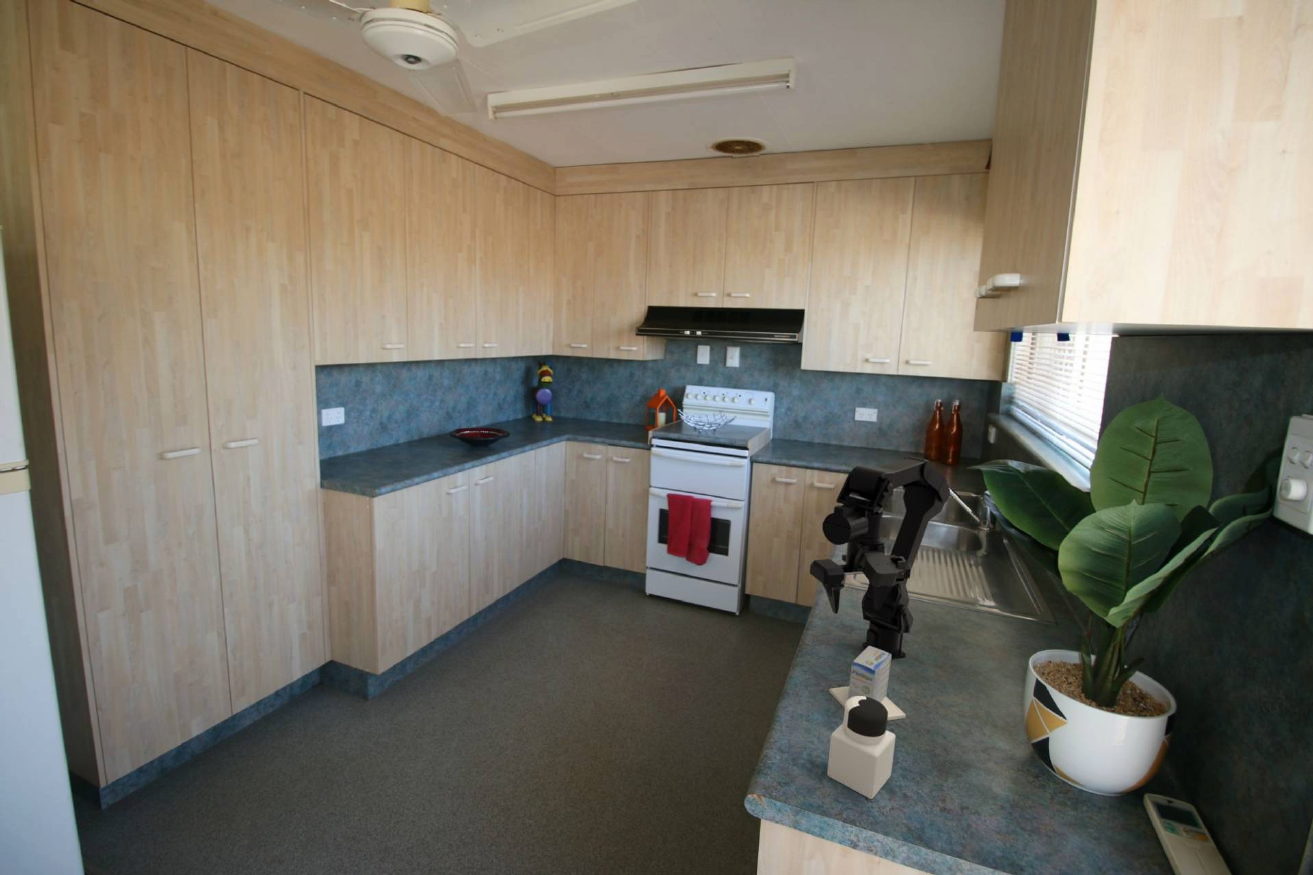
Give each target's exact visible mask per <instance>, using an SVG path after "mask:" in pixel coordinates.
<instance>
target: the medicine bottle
mask: <svg viewBox="0 0 1313 875" xmlns="http://www.w3.org/2000/svg"><path fill="white" fill-rule="evenodd" d="M887 719H888V711H887V709H886V708H885V706H884V705H883V704H882V703H880V702H879V701H877V700H875V699H873V698H870V697H865V696H855V697H851V698H850V699H848V700H847V701H846V703H845V708H844V714H843V722H842V723H841V724H840V725H839V726H838V727H837V728H836V729H835V730H834V731H833V732H832V733H831V734H830V743H829V752H828V764H827V773H826V774H827V776H828V777H829V778H830V779H833V780H834V781H835V782H838V783H839V784H842V785H844V786H845V787H847V788H849V789H851V790H853V791H855V792H857V793H858V794H861V795H862V796H864V797H866V798H867V799H870V800H872V799H874V798H875V796H876V795H877V793H878V792H879V791H880V790H881V789H882V788H883V786H884V784H886V782H887V781H888V780H889V779H890V777H891V776H892V769H893V768H892V767H893V762H894V761H893V760H894V753H895V745H896V734H895V733H893V732H891V731H889V730H887V724H888V721H887Z"/></svg>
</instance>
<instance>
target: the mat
mask: <svg viewBox="0 0 1313 875" xmlns="http://www.w3.org/2000/svg"><path fill="white" fill-rule="evenodd" d="M829 693H830V694H831V695H832V696H833V697H834V698H835V699H836V700H837V701H838V703H839V704H840V705H841V706H842V707H843V708H844V709H845V703H846V701H847V700H848V693H849V685H848V686H840V687H834V688H829ZM880 703H882V704H883V705H884V706H885V708H886V709H887V711H888V719H887V722H888V721H893V720H899V719H906V717H907V714H905V712H904V711H902V710H901V709H900V708H899V707H898V706H897V705H896V704H895V703H894V702H892V701H891V700H890V698H889V697H888V696H887V695H886V696H885V697H884V698H883V700H882V701H881V702H880Z"/></svg>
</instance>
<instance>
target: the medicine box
mask: <svg viewBox="0 0 1313 875" xmlns="http://www.w3.org/2000/svg"><path fill="white" fill-rule="evenodd" d="M891 663H892V659H891V654H890V653H887V652H885V651H883V650H880V649H877V648H874V647H871V646H868V647H867V648H864V650H863V651H861V653H860V654H859V655H857V657H856V658H854V660H853V661H851V668H850V676H849V684H848V686H849V693H848V699H850V698H851V697H855V696H865V697H870V698H873V699H875V700H877V701H879V702H881V701H882V700H883V698H884V697H885V696H886V697H887V692H888V685H889V678H890V670H891Z"/></svg>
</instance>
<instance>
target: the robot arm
mask: <svg viewBox="0 0 1313 875" xmlns="http://www.w3.org/2000/svg"><path fill="white" fill-rule="evenodd" d="M899 487H901V488H902V490H903V495H902V500H903V504H904V508H905V514H904V517H903V518H902V522H901V524H900V527H899V530H898V532H897V534H896V535H897V536H896V537H895V541H894V543H893V546H892V549H891V551H890V554H885V553H886V552H885V545H884V544H885V542H883V541H881V534H882V526H883V525H882V524H883V523H882V522H883V517H884V516H883V514H884V510H886V509H887V508H889V505H888V504H887V501H888V500H889V499H890V498H891V497H893V495H894V490H895V489H898V488H899ZM950 495H951V488H950V485H949V484H948V481H947V479H946V477H945V476H944V475H943V474H942V473H940V472H939V471H938V470H937V469H935V468H934V466H933V463H932V462H931V461H929V459H924V458H919V457H914V456H906V457H904V458H903V459H902V460H901V459H900V460H897V461H894V462H891V463H888V464H886V465H881V466H879V467H876V466H869V465H868V466H867V465H857V466H855V467H853V468H852V469H851V471H850V472H849V473H848V475H847V477H846V479H845V481H844V483H843V485H842V487H841V490H840V492H839V494H838V496H837V498H836V503H837V504H841V505H835V506H834V507H833V513H830V514H828V515H826V517H825V518H824V520H823V521H822V533H823V535H824V537H825V538H826V540H828V542H829V543H831V544H833V545H836V546H841V545H845V544H847V545H846V554H842V555H841V561H843V562H844V564H838V563H837V562H835V561H834V560H832V559H831V558H828V559H813V561H812V562H811V563H810V565H809V574H810V575H811V576H812V577H814V578H815V579H816V580H818V581H819V582H820V583H821V584H822V586H823V588H824V591H825V593H826V596H827V599H828V602H829V604H830V607H831V611H832V613H834V614H835V615H837V614H839V613H838V612H839V608H840V599H841V590H842V589H843V588H845V584H843V583H842V582H843V581H844V580H845V576H851V575H864V576H865V577H866V579H867V580H868V585H867V590H866V591H865V593H864V594H863V596H862V599H861V610H862V619H863V620H864V621H868V622H869V626H868V628H867V630H866V637H865V641H863V642H862V646H863V647H864V649H866V648H867V647H868V646H871V647H874V648H877V649H880V650H883V651H885V652H887V653H890V654H891V660H892V659H898V658H900V659H901V658H906V657H907V653H906V652H904V651H903V650H902V648H903V647H902V646H903V639H904V634H909V633H910V632H911V629H912V626H913V623H914V616H913V615H912V613H911V611H910V609H909V608H908V606H909V602H910V597H909V593H908V588H907V583H908V580H909V579H911V574H912V569H913V566H914V563H915V561H916V558H917V555H918V552H919V550H920V546H921V544H922V541H923V539H924V536H925V533H926V530H927V527H928V524H929V522H930V520H932V519H934V518H935V517H936V516H937V515H938V514H940V513H941V512H942V511H943V507H944V506H945V503H947V502H948V500H949V498H950Z"/></svg>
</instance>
